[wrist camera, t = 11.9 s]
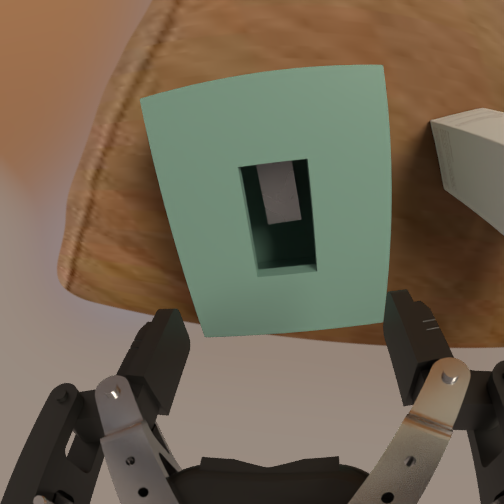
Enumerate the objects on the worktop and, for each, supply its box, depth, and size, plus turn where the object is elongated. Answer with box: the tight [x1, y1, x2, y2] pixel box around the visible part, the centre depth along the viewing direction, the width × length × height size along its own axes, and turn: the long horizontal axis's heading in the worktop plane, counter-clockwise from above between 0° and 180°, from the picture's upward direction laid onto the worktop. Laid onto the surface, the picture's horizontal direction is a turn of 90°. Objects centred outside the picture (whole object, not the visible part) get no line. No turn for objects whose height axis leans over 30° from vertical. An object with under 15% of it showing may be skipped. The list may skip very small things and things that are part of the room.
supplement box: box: [430, 108, 504, 235], centre depth 19 cm, size 7×7×13 cm
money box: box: [140, 65, 392, 337], centre depth 23 cm, size 14×18×10 cm
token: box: [256, 160, 301, 224], centre depth 24 cm, size 2×5×5 cm, turn 12°
